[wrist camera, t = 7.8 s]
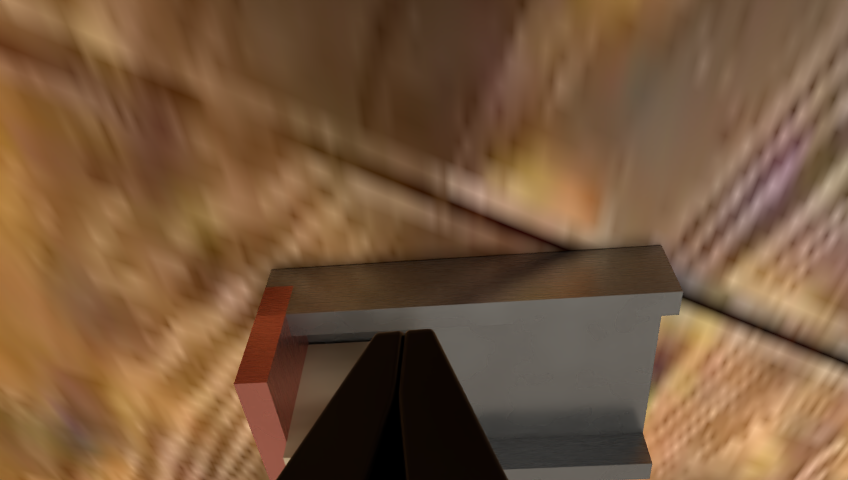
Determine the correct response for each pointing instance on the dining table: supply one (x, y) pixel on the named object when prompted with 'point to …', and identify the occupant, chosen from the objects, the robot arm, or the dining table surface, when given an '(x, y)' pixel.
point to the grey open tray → (488, 348)
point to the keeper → (319, 386)
